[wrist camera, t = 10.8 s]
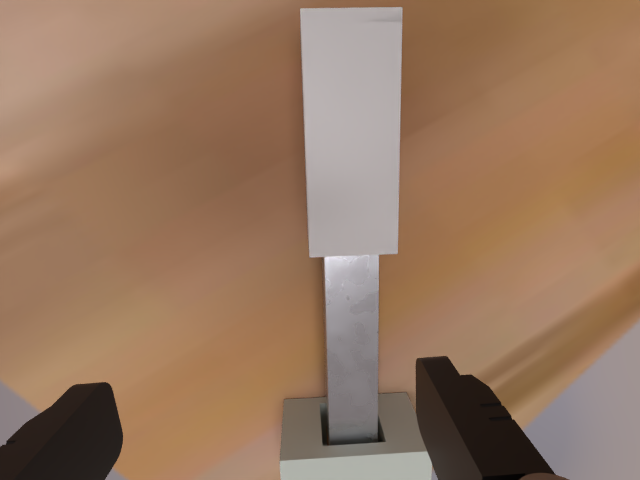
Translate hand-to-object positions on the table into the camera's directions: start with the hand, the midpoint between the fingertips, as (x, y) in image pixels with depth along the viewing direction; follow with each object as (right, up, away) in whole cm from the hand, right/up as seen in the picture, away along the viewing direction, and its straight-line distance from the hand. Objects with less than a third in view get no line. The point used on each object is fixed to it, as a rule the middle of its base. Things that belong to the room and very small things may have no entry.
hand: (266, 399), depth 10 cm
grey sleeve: (+3, +12, +21) cm, 24 cm away
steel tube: (+4, -3, +23) cm, 23 cm away
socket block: (+4, -14, +26) cm, 30 cm away
